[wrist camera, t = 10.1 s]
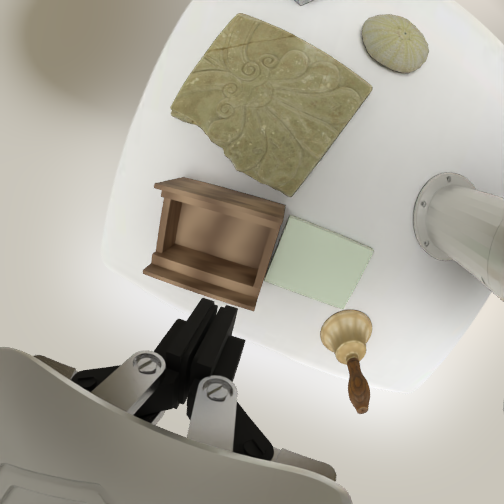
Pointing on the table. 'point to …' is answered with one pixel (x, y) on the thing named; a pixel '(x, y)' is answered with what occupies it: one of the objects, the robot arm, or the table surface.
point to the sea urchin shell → (395, 42)
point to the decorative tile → (269, 101)
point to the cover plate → (317, 263)
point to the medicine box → (302, 1)
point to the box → (215, 240)
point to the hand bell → (350, 350)
